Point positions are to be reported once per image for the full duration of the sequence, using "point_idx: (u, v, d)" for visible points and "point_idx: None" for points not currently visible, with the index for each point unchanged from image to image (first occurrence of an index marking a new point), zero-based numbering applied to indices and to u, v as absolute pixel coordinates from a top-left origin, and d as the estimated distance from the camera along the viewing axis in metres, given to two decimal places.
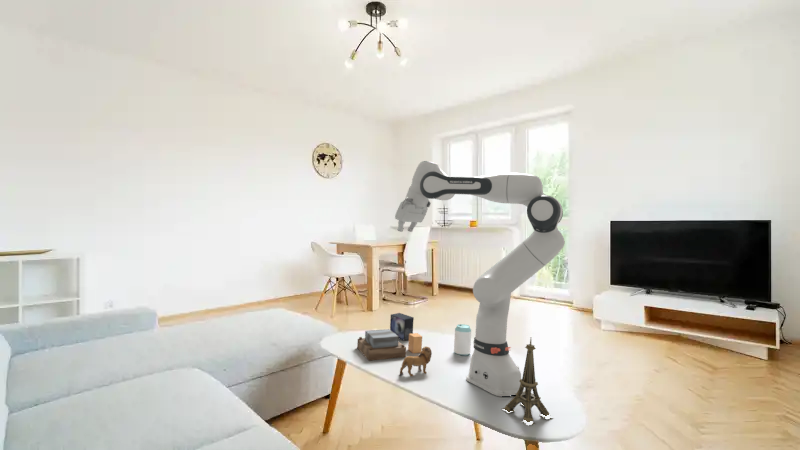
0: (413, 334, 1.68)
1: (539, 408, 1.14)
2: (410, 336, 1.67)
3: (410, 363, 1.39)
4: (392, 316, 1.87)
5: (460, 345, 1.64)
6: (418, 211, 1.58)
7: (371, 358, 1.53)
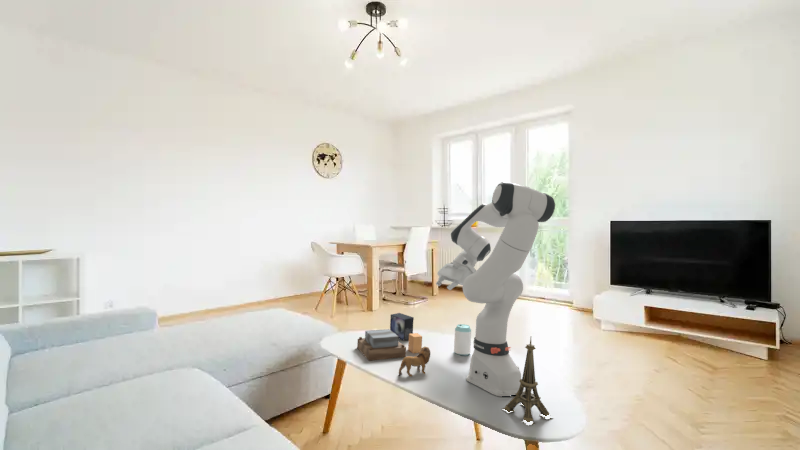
0: (413, 334, 1.68)
1: (539, 408, 1.14)
2: (410, 336, 1.67)
3: (409, 363, 1.39)
4: (392, 316, 1.87)
5: (460, 345, 1.64)
6: (457, 270, 1.72)
7: (371, 358, 1.53)
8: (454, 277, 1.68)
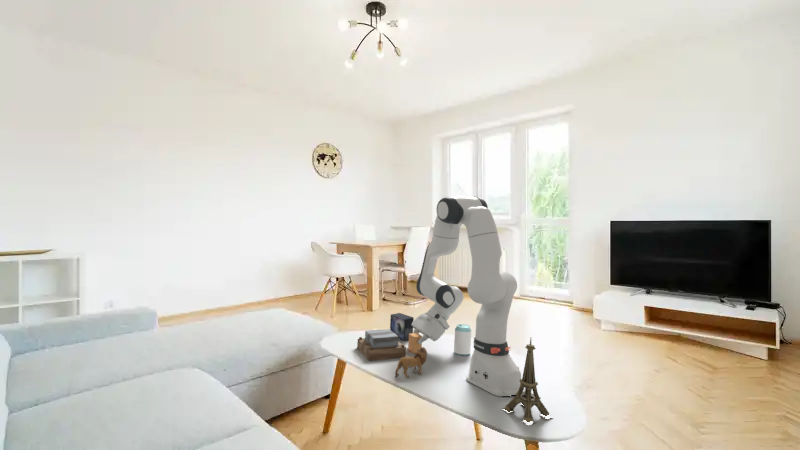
0: (413, 334, 1.68)
1: (539, 408, 1.14)
2: (410, 336, 1.67)
3: (406, 364, 1.38)
4: (392, 316, 1.87)
5: (460, 345, 1.64)
6: (430, 324, 1.67)
7: (371, 358, 1.53)
8: (426, 332, 1.63)
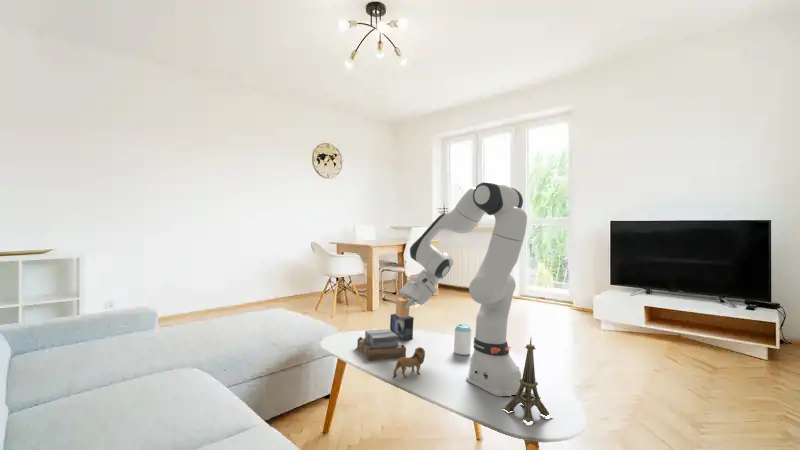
0: (401, 299, 1.66)
1: (539, 408, 1.14)
2: (397, 300, 1.66)
3: (404, 364, 1.38)
4: (392, 316, 1.87)
5: (460, 345, 1.64)
6: (417, 288, 1.65)
7: (371, 358, 1.53)
8: (413, 296, 1.62)
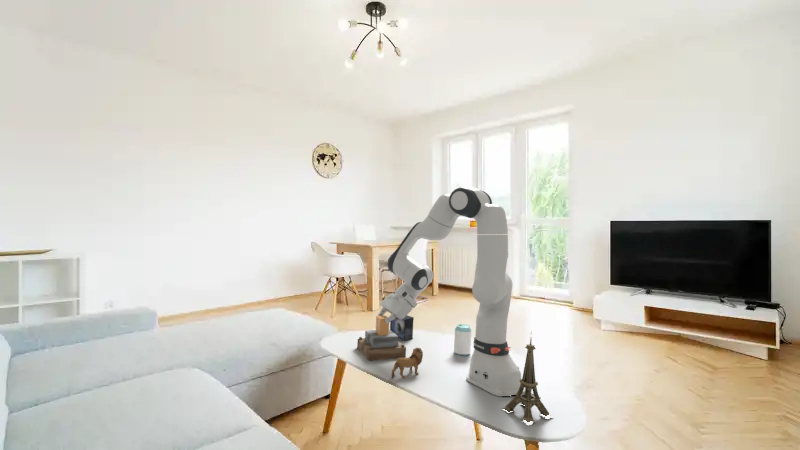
0: (380, 316, 1.64)
1: (539, 408, 1.14)
2: (377, 318, 1.63)
3: (402, 365, 1.37)
4: None
5: (460, 345, 1.64)
6: (397, 302, 1.63)
7: (371, 358, 1.53)
8: (392, 310, 1.59)
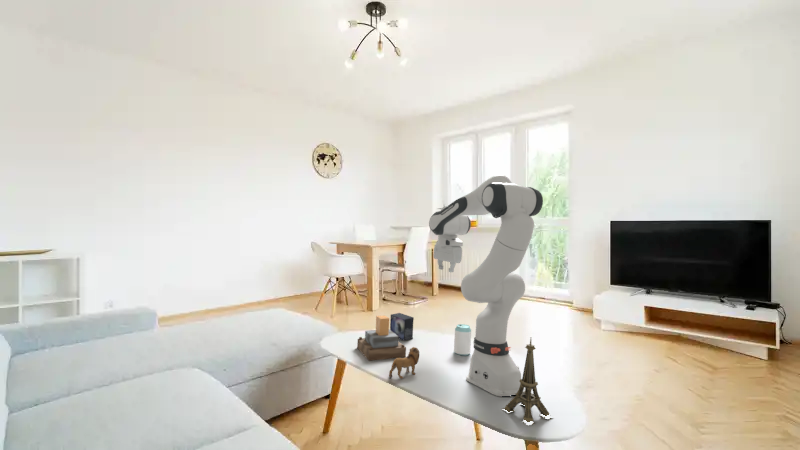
0: (380, 316, 1.64)
1: (539, 408, 1.14)
2: (377, 318, 1.63)
3: (400, 365, 1.37)
4: (392, 316, 1.87)
5: (460, 345, 1.64)
6: (446, 251, 1.76)
7: (371, 358, 1.53)
8: (448, 260, 1.74)
